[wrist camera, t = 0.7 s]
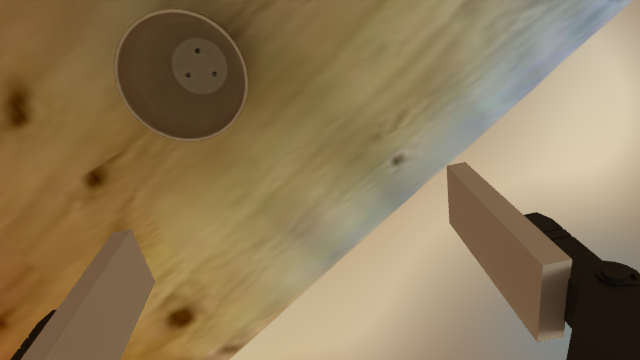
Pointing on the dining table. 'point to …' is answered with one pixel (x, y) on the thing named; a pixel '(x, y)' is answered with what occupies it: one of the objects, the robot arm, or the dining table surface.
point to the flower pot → (181, 75)
